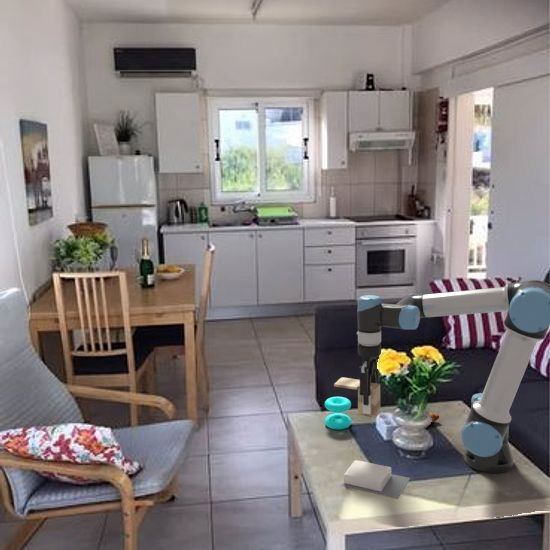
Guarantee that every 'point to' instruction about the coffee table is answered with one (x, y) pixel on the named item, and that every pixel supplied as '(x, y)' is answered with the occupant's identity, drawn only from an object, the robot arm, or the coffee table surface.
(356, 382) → the wooden bridge
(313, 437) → the coffee table surface
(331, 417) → the donuts
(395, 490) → the board
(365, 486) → the tile
